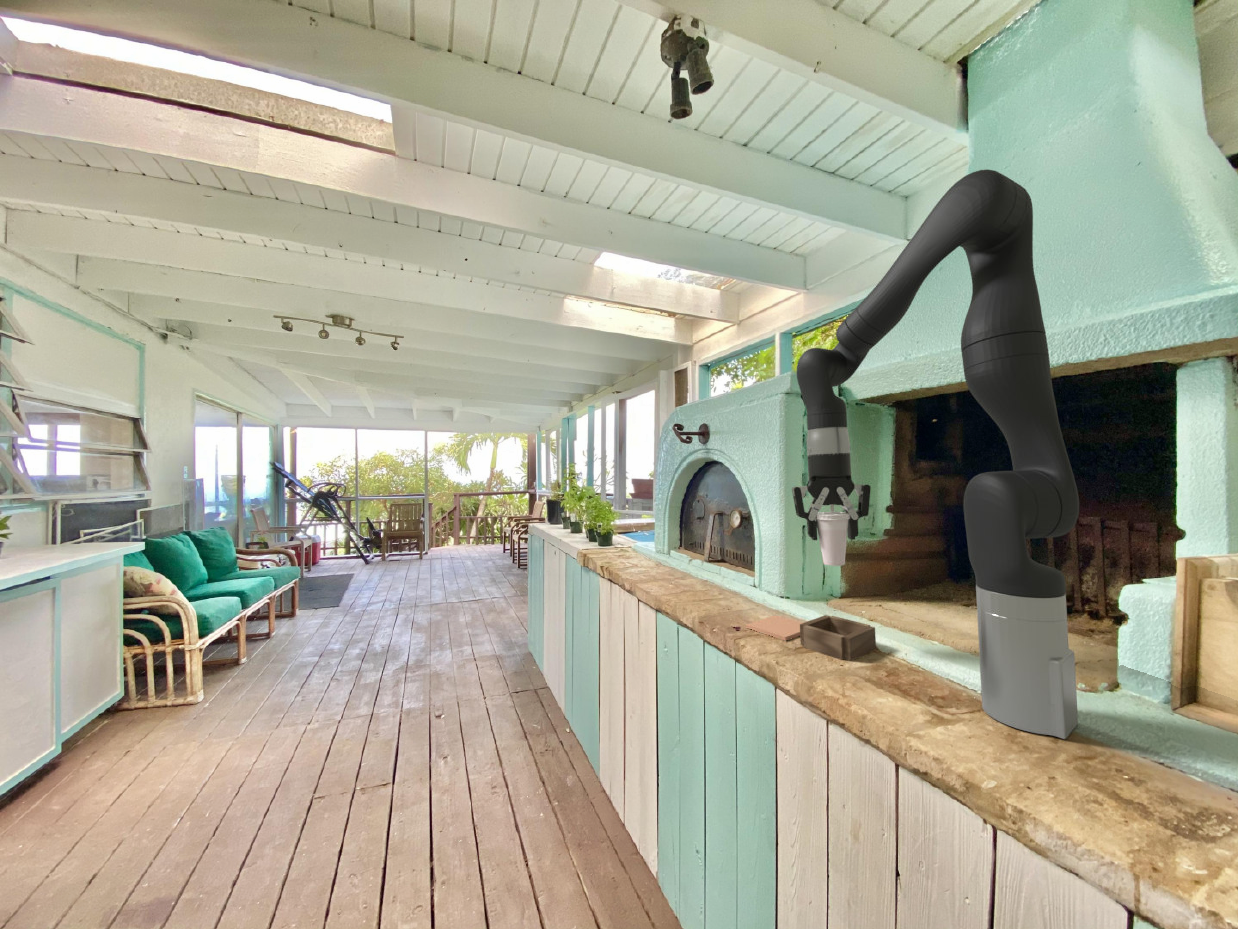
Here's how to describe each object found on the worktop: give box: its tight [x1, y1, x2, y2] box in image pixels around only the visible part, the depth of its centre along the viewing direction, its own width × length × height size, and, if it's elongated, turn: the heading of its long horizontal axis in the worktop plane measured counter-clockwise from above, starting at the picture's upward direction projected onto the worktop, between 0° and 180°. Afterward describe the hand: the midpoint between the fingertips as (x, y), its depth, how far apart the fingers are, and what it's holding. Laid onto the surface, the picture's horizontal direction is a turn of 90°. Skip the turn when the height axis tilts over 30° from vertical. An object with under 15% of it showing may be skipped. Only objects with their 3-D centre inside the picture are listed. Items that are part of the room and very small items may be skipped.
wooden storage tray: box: [799, 614, 877, 662], centre depth 89 cm, size 10×10×4 cm
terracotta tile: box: [745, 614, 803, 642], centre depth 99 cm, size 10×10×1 cm
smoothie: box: [815, 504, 850, 567], centre depth 89 cm, size 6×6×14 cm
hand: (832, 539), depth 89 cm, fingers closed on smoothie, 6 cm apart
